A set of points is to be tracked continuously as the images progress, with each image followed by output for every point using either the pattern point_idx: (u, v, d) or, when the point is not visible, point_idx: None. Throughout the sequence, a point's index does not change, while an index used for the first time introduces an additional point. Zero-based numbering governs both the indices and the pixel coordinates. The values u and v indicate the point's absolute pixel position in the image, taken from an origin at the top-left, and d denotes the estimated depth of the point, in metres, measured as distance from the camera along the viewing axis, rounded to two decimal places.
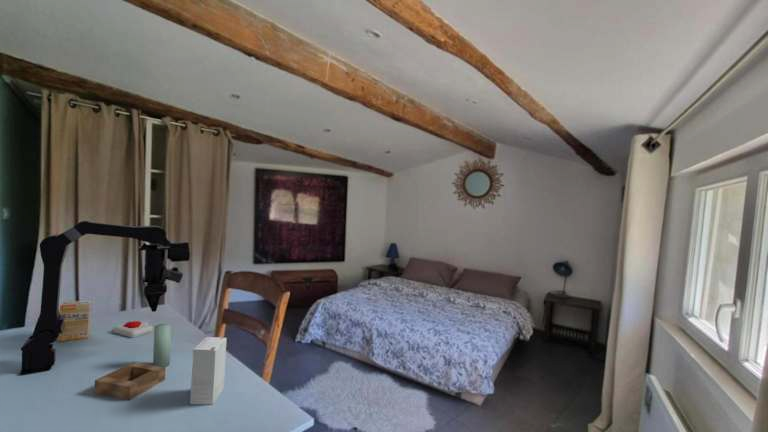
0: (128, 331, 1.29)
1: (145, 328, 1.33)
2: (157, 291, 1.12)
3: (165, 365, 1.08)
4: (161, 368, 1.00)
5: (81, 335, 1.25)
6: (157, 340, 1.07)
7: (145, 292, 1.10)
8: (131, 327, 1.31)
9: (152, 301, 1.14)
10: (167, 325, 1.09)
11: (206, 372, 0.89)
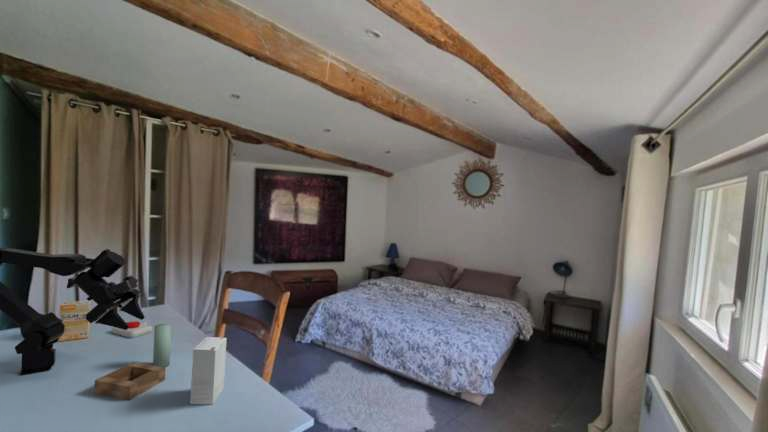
0: (128, 331, 1.29)
1: (144, 328, 1.33)
2: (98, 314, 0.97)
3: (165, 365, 1.08)
4: (161, 368, 1.00)
5: (81, 335, 1.25)
6: (157, 340, 1.07)
7: (90, 322, 0.97)
8: (130, 327, 1.31)
9: (114, 322, 1.01)
10: (167, 325, 1.09)
11: (206, 372, 0.89)
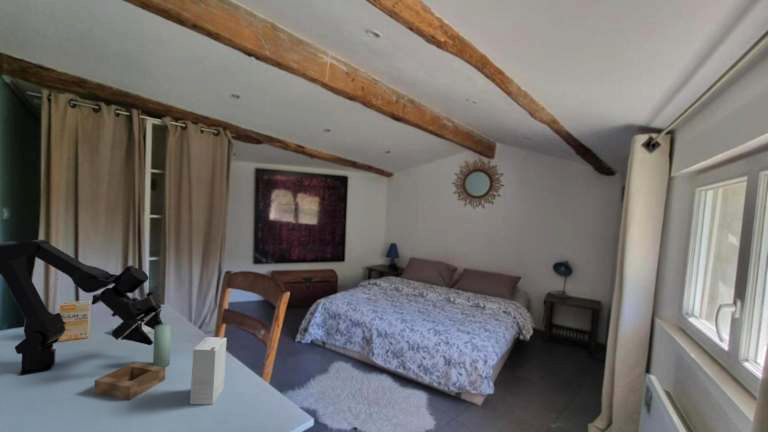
0: None
1: (143, 328, 1.32)
2: (124, 330, 0.98)
3: (165, 365, 1.08)
4: (161, 368, 1.00)
5: (81, 335, 1.25)
6: (157, 340, 1.07)
7: (116, 338, 0.98)
8: None
9: (138, 338, 1.02)
10: (167, 325, 1.09)
11: (206, 372, 0.89)
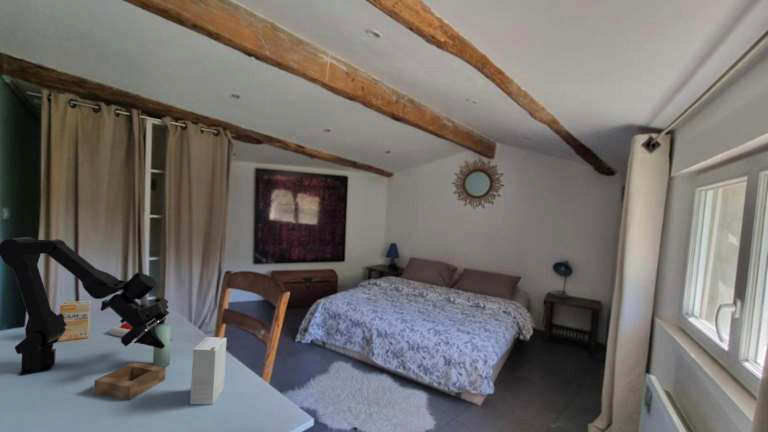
0: (126, 332, 1.28)
1: None
2: (133, 337, 0.99)
3: (165, 365, 1.08)
4: (161, 368, 1.00)
5: (81, 335, 1.25)
6: None
7: (125, 345, 0.99)
8: (128, 328, 1.30)
9: (151, 341, 1.05)
10: (167, 325, 1.09)
11: (206, 372, 0.89)
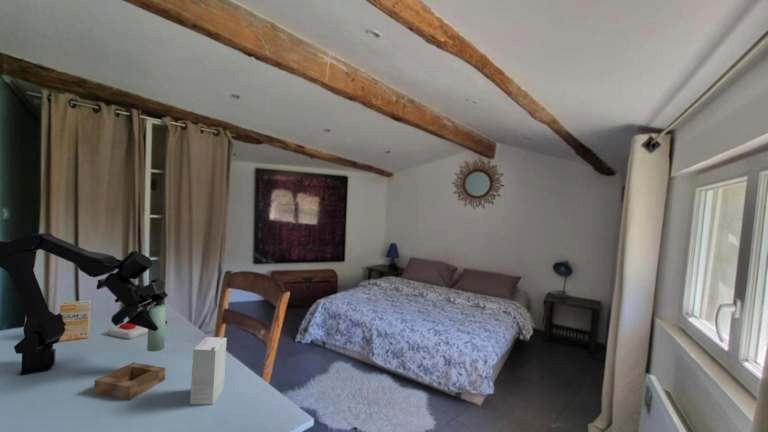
0: (125, 333, 1.28)
1: (141, 329, 1.32)
2: (123, 317, 0.95)
3: (159, 348, 1.04)
4: (161, 368, 1.00)
5: (81, 335, 1.25)
6: None
7: (115, 324, 0.95)
8: (127, 328, 1.30)
9: (143, 323, 1.01)
10: (162, 307, 1.05)
11: (206, 372, 0.89)
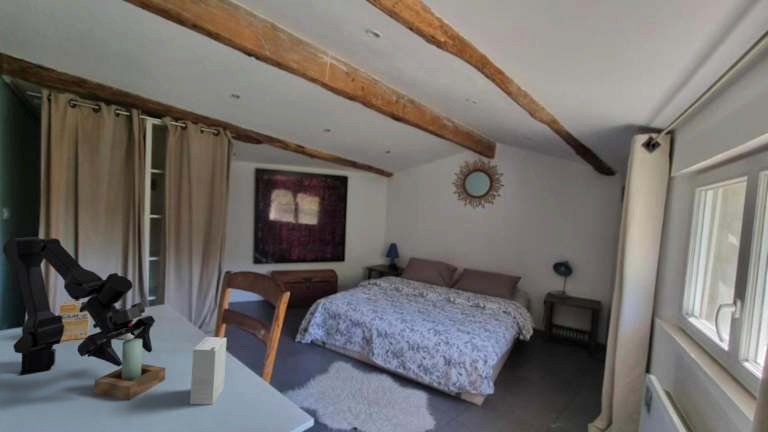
0: None
1: None
2: (87, 347, 0.88)
3: None
4: (161, 368, 1.00)
5: (81, 335, 1.25)
6: (123, 358, 0.94)
7: None
8: None
9: (107, 356, 0.91)
10: (137, 341, 0.96)
11: (206, 372, 0.89)
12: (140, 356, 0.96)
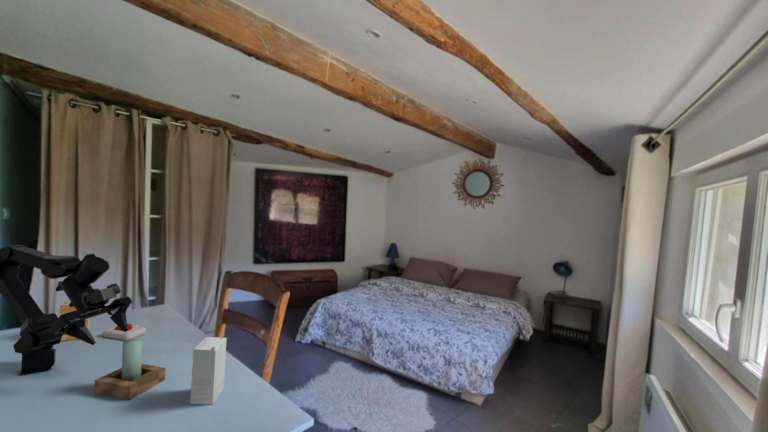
0: (122, 334, 1.26)
1: (138, 330, 1.30)
2: (60, 326, 0.90)
3: None
4: (161, 368, 1.00)
5: None
6: (123, 358, 0.94)
7: (54, 333, 0.91)
8: None
9: (80, 335, 0.93)
10: (137, 341, 0.96)
11: (206, 372, 0.89)
12: (140, 356, 0.96)
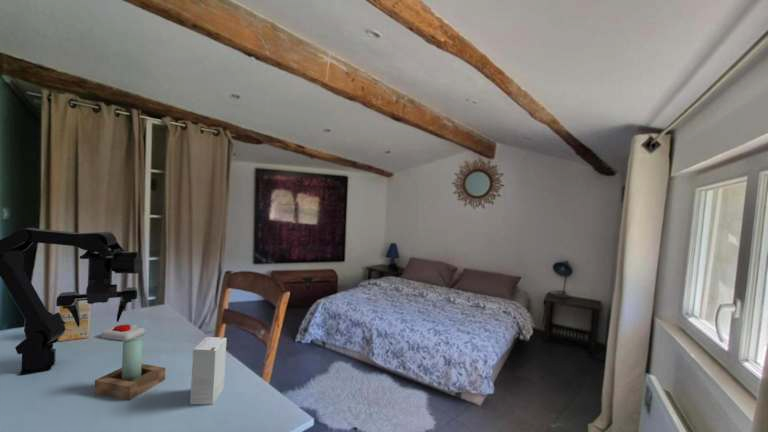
0: (121, 335, 1.26)
1: (137, 330, 1.30)
2: None
3: None
4: (161, 368, 1.00)
5: (81, 335, 1.25)
6: (123, 358, 0.94)
7: None
8: (122, 330, 1.28)
9: None
10: (137, 341, 0.96)
11: (206, 372, 0.89)
12: (140, 356, 0.96)
